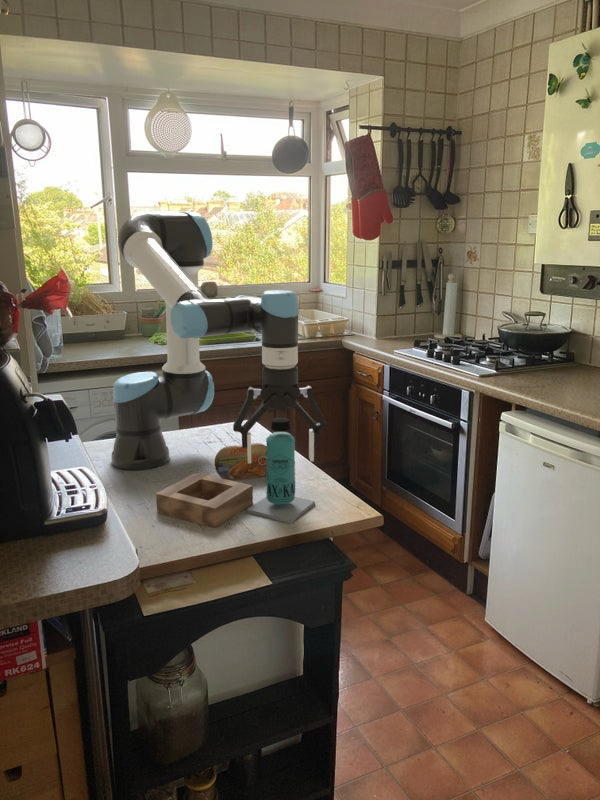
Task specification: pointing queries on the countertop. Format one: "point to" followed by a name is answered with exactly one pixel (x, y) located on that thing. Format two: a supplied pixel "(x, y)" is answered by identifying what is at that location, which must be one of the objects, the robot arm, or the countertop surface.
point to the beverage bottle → (280, 463)
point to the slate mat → (281, 509)
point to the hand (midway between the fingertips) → (280, 460)
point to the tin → (241, 462)
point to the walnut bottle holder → (212, 513)
